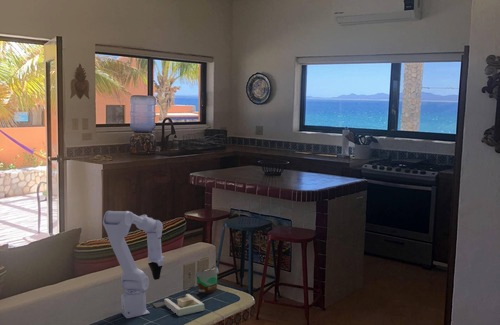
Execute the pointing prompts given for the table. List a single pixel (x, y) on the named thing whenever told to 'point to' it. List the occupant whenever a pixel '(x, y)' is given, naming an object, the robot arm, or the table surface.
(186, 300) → the birch block
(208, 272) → the food container
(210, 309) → the table surface
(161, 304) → the plate
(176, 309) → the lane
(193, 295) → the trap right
